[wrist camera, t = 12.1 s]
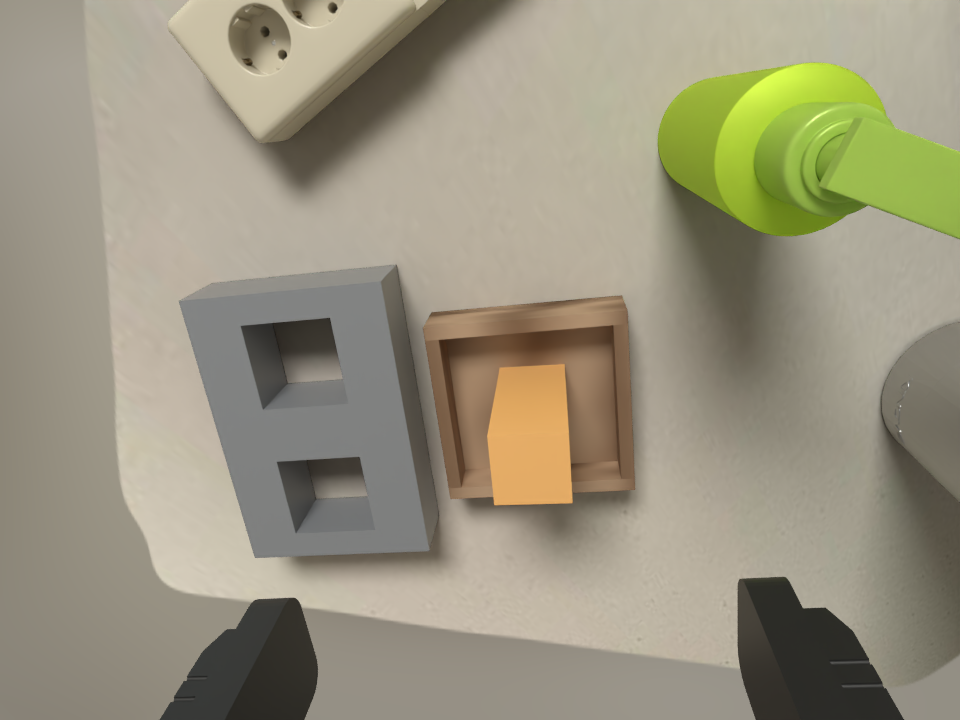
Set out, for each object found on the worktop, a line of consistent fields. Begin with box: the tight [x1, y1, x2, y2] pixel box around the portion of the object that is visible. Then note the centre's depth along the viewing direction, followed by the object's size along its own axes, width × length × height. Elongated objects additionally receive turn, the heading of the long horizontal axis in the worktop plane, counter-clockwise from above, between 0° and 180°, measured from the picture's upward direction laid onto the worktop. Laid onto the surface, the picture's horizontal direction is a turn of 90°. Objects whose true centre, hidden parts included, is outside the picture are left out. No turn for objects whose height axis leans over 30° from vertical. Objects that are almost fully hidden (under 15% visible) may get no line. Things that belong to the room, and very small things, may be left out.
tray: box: [423, 296, 635, 499], centre depth 40 cm, size 12×12×3 cm
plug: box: [487, 364, 573, 505], centre depth 37 cm, size 4×4×9 cm
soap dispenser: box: [658, 63, 960, 239], centre depth 26 cm, size 6×7×20 cm
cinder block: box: [179, 265, 439, 558], centre depth 42 cm, size 12×18×4 cm, turn 7°
